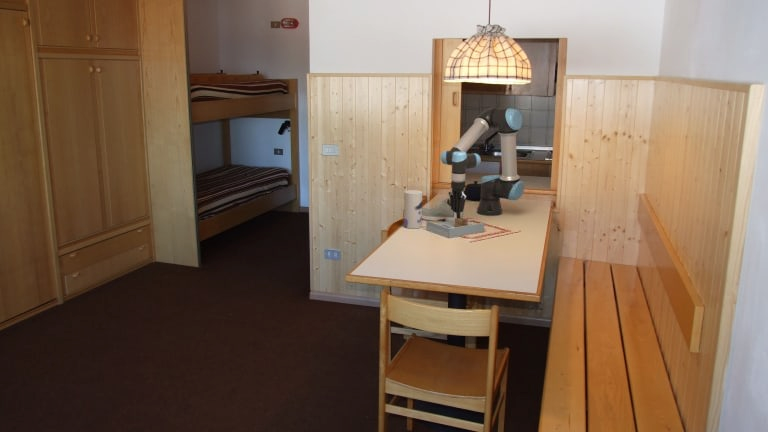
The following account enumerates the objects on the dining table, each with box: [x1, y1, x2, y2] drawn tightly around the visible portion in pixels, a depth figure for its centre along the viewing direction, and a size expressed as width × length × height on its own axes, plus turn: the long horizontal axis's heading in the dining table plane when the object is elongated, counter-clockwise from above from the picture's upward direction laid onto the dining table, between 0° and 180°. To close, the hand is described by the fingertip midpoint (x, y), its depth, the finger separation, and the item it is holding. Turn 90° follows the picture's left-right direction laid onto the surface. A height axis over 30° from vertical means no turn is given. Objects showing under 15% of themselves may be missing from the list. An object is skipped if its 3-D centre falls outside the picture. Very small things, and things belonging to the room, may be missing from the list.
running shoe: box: [422, 198, 465, 222], centre depth 383 cm, size 11×30×14 cm, turn 64°
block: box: [455, 217, 469, 227], centre depth 355 cm, size 5×5×5 cm
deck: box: [426, 220, 485, 239], centre depth 360 cm, size 24×20×5 cm
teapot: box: [464, 180, 481, 202], centre depth 439 cm, size 25×16×12 cm, turn 67°
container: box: [403, 189, 423, 229], centre depth 367 cm, size 10×10×20 cm
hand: (456, 223), depth 358 cm, fingers closed
